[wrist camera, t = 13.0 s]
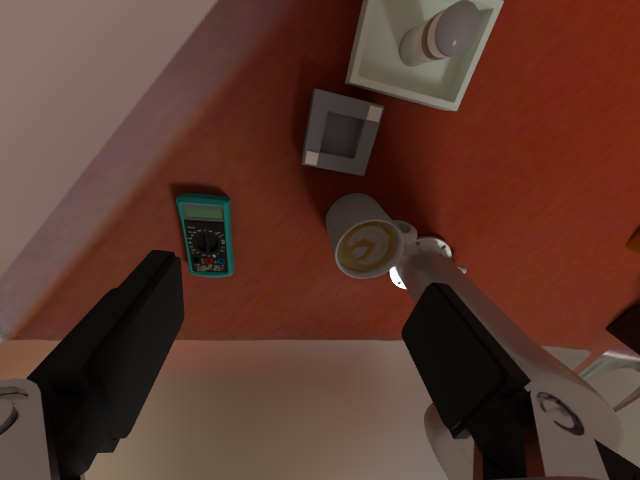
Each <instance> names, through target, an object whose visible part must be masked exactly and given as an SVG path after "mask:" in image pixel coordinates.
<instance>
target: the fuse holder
mask: <svg viewBox="0 0 640 480" xmlns="http://www.w3.org/2000/svg"><path fill="white" fill-rule="evenodd" d="M384 107H385V106H382V105H378V104H374V103H370V102H366V101H362V100H359V99H355V98H351V97H347V96H343V95H339V94H335V93H331V92H327V91H323V90H320V89H316V88H315V89H313V91H312V97H311V103H310V109H309V115H308V121H307V127H306V133H305V139H304V145H303V151H302V157H301V161H302V165H307V166H313V167H318V168H323V169H328V170H334V171H339V172H344V173H350V174H355V175H360V176H364V174H365V171H366V168H367V164H368V161H369V158H370V154H371V151H372V147H373V144H374V141H375V137H376V134H377V131H378V127H379V124H380V121H381V117H382V114H383V111H384Z"/></svg>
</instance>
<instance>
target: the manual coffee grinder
mask: <svg viewBox="0 0 640 480" xmlns="http://www.w3.org/2000/svg"><path fill="white" fill-rule="evenodd" d="M606 330H607V331H608V332H610V333H611V334H612V335H614V336H615V337H616V338H617V339H619V340H620V341H621V342H623V343H624V344H625V345H627V346H628V347H629V348H631V349H632V350H633V351H635V352H636V353H637V354H639V355H640V305H636V306H634V307H632V308H631V309H629V310H628V311H627V312H625V313H624V314H623V315H621V316H620V317H619V318H618V319H616V320H615V321H614V322H613V323H612V324H610V325H609V326H608V327H607V328H606Z"/></svg>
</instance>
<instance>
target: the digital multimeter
mask: <svg viewBox="0 0 640 480" xmlns="http://www.w3.org/2000/svg"><path fill="white" fill-rule="evenodd" d="M176 203H177V207H178V211H179V216H180V220H181V224H182V229H183V234H184V239H185V245H186V252H187V259H188V268H189V273H190V274H193V275H198V276H204V277H224V276H230V275H232V274H233V271H234V268H235V266H234V258H233V249H232V239H231V210H230V198H228V197H224V196H218V195H211V194H194V193H184V194H181V195H180V196H179V197H177V198H176ZM225 239H226V240H225ZM226 251H227V252H226ZM227 263H228V264H227Z"/></svg>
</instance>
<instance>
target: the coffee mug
mask: <svg viewBox="0 0 640 480" xmlns="http://www.w3.org/2000/svg"><path fill="white" fill-rule="evenodd" d="M326 229H327V232H328V236H329V239H330V242H331V246H332V249H333V253H334V256H335V260H336V262H337V265H338V266H339V268H340V269H341V270H342V271H343V272H344V273H345V274H347V275H348V276H351V277H353V278H357V279H370V278H375V277H378V276H380V275H383V274H385V273H386V272H388V271H389V270H391V269H392V268H393V267H394V266H395V265H396V264H397V263H398V261H399V260H400V258H401V256H402V254H403V251H404V246H405V245H410V244H412V243H414V242H415V241H416V239H417V231H416V229H415V228H414V227H413V226H412V225H411V224H409V223H407V222H405V221H401V220H392V219H391V218H390V217H389V216H388V215H387V214H386V212H385V211H384V210H383V209H382V208H381V207H380V205H379V204H378V203H377V202H376V201H375V200H374V199H373V198H372V197H370V196H368V195H365V194H361V193H353V194H348V195H346V196H343V197H341V198H340V199H338V200H337V201H336V202H335V203H334V204H333V205H332V206H331V207H330V209H329V211H328V213H327V216H326Z"/></svg>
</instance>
